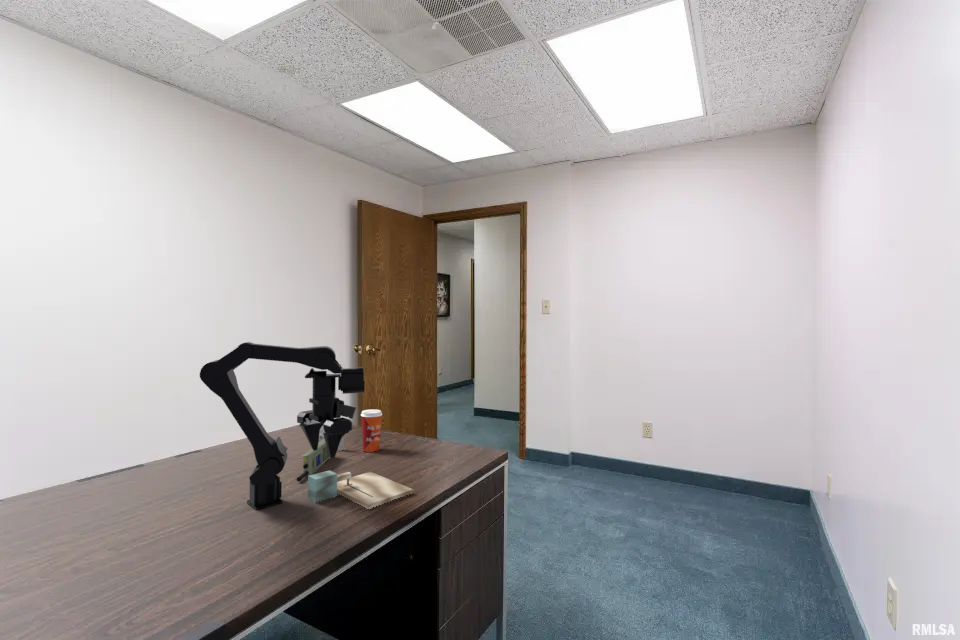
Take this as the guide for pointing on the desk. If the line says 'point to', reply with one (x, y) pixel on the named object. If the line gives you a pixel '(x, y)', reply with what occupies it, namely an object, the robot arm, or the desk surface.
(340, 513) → the desk surface
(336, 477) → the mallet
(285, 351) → the robot arm
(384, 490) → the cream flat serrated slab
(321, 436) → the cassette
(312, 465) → the handheld radio
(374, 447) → the paper cup
